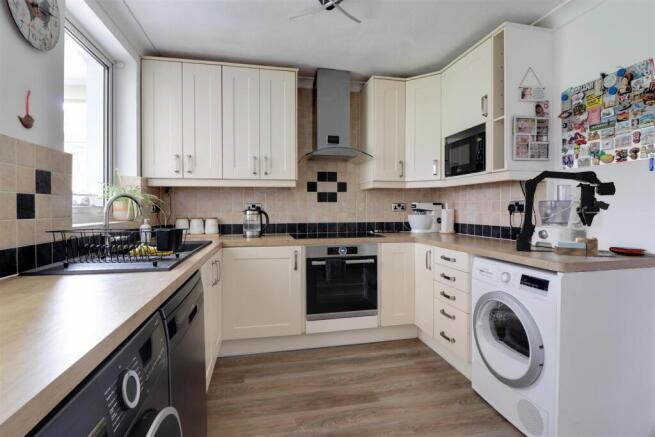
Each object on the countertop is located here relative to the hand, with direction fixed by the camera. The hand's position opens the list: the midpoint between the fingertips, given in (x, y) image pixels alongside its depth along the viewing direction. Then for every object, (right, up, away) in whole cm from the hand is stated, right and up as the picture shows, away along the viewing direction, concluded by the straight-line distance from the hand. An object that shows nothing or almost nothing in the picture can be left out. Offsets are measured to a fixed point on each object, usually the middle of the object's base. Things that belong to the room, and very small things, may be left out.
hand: (586, 226), depth 161 cm
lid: (-10, -11, -2) cm, 15 cm away
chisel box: (-8, -15, -3) cm, 17 cm away
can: (+5, -14, +13) cm, 20 cm away
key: (-5, -8, -5) cm, 11 cm away
